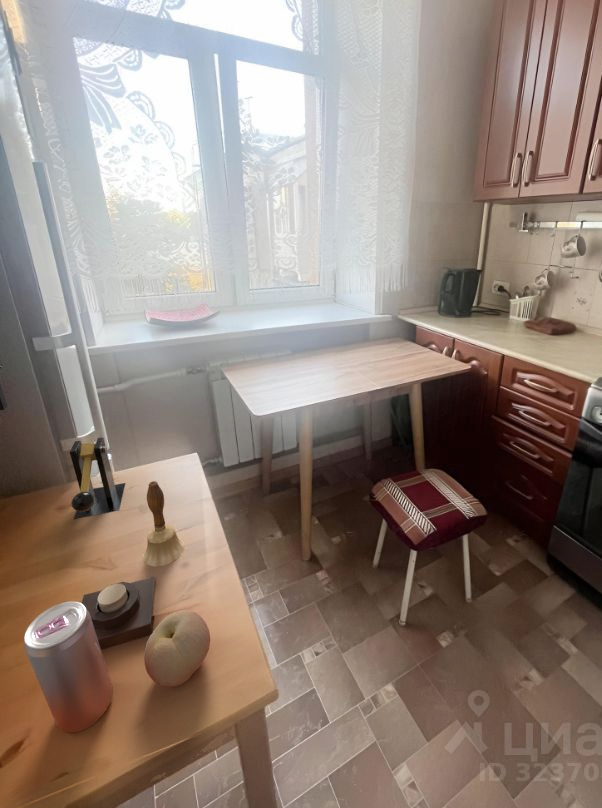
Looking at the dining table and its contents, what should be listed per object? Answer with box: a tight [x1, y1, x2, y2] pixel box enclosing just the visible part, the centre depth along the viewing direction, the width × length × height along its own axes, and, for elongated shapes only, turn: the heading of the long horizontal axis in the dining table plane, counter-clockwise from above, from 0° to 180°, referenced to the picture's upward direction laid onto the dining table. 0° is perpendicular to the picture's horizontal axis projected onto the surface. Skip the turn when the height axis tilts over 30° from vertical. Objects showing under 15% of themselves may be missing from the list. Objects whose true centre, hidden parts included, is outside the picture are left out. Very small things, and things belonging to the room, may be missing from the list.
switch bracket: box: [69, 437, 126, 520], centre depth 81 cm, size 10×8×15 cm
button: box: [98, 583, 128, 613], centre depth 58 cm, size 4×4×2 cm
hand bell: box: [142, 480, 185, 567], centre depth 69 cm, size 8×8×16 cm
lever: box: [70, 442, 97, 512], centre depth 76 cm, size 14×4×4 cm, turn 22°
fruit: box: [143, 609, 211, 688], centre depth 53 cm, size 8×8×8 cm
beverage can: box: [23, 601, 114, 733], centre depth 46 cm, size 6×6×15 cm
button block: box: [80, 576, 157, 651], centre depth 59 cm, size 10×9×4 cm
